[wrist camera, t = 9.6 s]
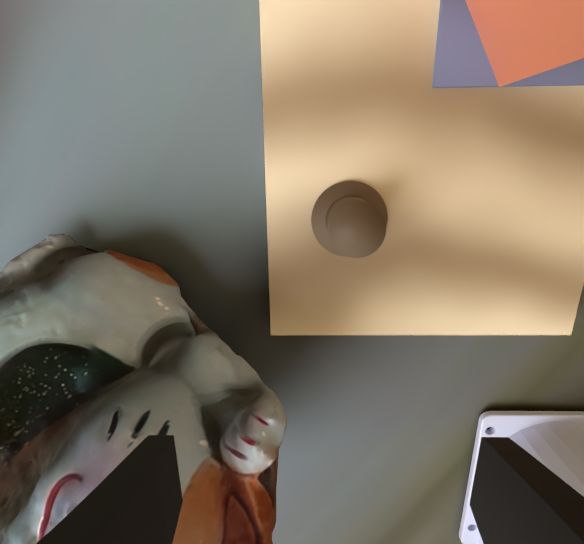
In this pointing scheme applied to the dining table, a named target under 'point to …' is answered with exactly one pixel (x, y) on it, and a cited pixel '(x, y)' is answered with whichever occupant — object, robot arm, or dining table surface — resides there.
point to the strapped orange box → (528, 35)
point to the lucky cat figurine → (125, 396)
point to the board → (415, 176)
